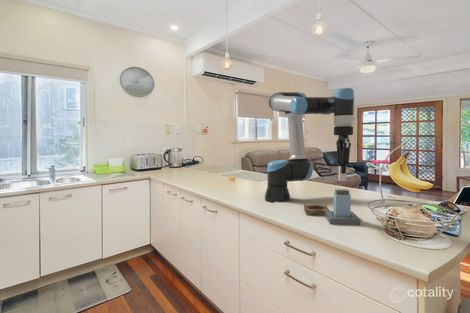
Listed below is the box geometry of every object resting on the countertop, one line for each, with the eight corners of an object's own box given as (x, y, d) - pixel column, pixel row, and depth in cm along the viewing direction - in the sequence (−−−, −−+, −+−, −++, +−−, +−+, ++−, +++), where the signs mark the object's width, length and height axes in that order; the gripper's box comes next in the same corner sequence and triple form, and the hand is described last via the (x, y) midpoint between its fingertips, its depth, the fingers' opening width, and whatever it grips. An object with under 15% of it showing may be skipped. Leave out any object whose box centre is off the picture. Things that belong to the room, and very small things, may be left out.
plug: (335, 221, 106) (336, 191, 104) (333, 218, 110) (333, 189, 108) (350, 222, 105) (350, 191, 104) (347, 219, 109) (347, 189, 108)
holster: (306, 216, 115) (306, 210, 115) (304, 210, 123) (304, 204, 123) (329, 216, 114) (329, 210, 113) (325, 211, 122) (325, 205, 122)
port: (330, 225, 103) (330, 217, 103) (325, 217, 113) (325, 210, 113) (360, 226, 101) (360, 218, 101) (352, 217, 111) (352, 210, 111)
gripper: (358, 125, 96) (356, 183, 99) (347, 126, 109) (346, 177, 111) (338, 125, 97) (337, 183, 100) (330, 126, 110) (329, 177, 113)
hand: (342, 180), depth 106 cm, fingers closed
